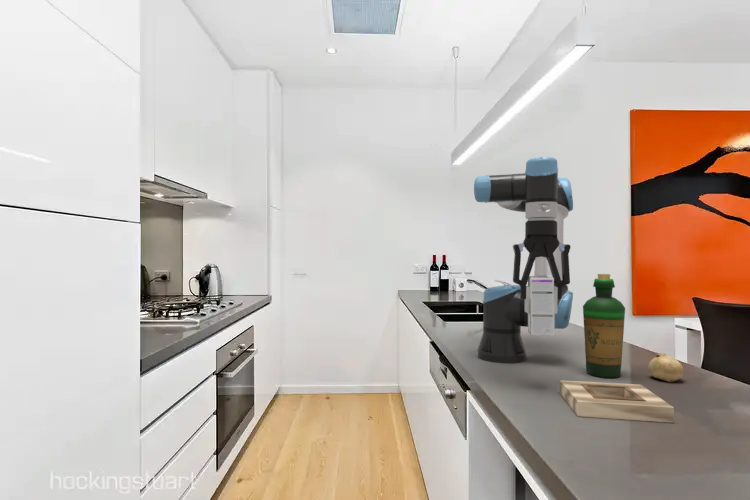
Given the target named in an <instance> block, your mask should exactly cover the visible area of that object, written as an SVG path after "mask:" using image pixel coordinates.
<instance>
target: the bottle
mask: <svg viewBox="0 0 750 500" xmlns="http://www.w3.org/2000/svg"><path fill="white" fill-rule="evenodd" d="M610 277H611V274H609V273H598V274H597V278H594V281H593V285H592V287H593V288H595V296H593V297H590V298H589V299H588V300H586V301H585V303H584V304H583V305H582V314H583V334H584V336H583V337H584V349H585V351H584V352H585V367H586V372H587V373H588V374H590V375H592V376H594V377H598V378H604V379H614V378H618V377H621V374H622V359H623V346H624V345H623V344H624V343H623V342H624V333H625V332H624V331H625V318H626V317H625V316H626V315H625V314H626V307H625V306H624V304H623V303H622V302H621V300H619V299H617V298H616V297H613V289H614V288H615V287H616V285H615V282H614V279H613V278H610Z"/></svg>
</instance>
